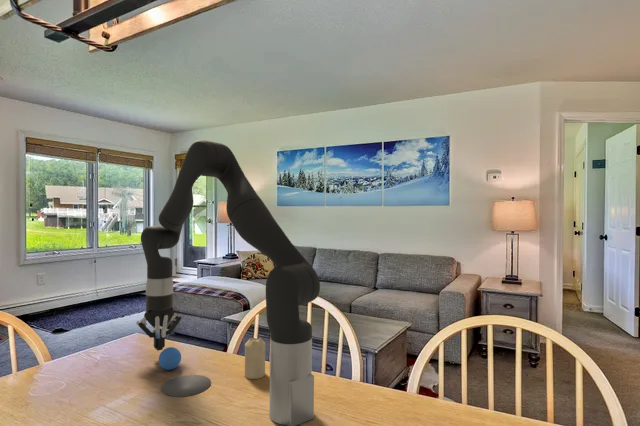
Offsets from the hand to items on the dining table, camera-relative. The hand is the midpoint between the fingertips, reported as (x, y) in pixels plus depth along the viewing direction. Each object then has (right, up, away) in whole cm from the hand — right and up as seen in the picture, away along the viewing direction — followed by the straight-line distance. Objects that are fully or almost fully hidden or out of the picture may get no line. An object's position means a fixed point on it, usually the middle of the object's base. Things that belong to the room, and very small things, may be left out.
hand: (159, 349), depth 119 cm
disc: (+14, -3, -18) cm, 23 cm away
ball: (+6, 0, -8) cm, 10 cm away
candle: (+31, -3, -11) cm, 33 cm away
